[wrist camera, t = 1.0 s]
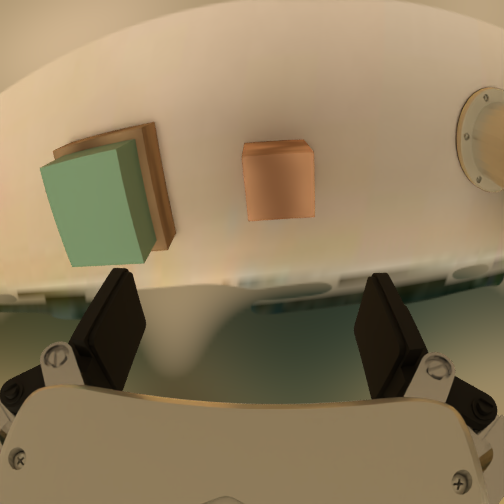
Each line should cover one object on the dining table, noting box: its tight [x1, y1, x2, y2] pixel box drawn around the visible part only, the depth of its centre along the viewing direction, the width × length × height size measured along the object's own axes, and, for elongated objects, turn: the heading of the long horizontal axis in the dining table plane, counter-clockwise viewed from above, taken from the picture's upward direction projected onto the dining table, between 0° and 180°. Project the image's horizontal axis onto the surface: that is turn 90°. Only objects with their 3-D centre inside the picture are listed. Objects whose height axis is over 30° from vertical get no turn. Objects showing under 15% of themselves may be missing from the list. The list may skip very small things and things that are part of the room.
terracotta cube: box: [242, 140, 315, 221], centre depth 26 cm, size 6×6×6 cm
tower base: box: [53, 122, 176, 251], centre depth 28 cm, size 10×12×4 cm
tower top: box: [40, 139, 157, 267], centre depth 24 cm, size 8×10×4 cm
